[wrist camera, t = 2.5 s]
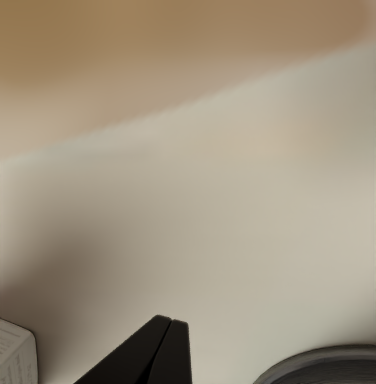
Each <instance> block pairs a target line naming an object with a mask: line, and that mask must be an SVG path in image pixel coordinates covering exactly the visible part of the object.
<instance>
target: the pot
mask: <svg viewBox="0 0 376 384" xmlns="http://www.w3.org/2000/svg"><path fill="white" fill-rule="evenodd" d="M254 384H376V346H375V345H351V346H336V347H330V348H323V349H317V350H313V351H310V352H306V353H302V354H299V355H296V356H294V357H291V358H289V359H286V360H284V361H282V362H280V363H278V364H277V365H275V366H273V367H271V368H270V369H269V370H267V371H266V372H265V373H264V374H262V375H261V376H260V377H259V378H258V379H257V380H256V381H255V382H254Z"/></svg>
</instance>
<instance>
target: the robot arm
mask: <svg viewBox="0 0 376 384" xmlns="http://www.w3.org/2000/svg"><path fill="white" fill-rule="evenodd" d="M74 384H192V371H191V356H190V342H189V327H188V323H186V322H183V321H180V320H176V319H174V320H172V319H171V318H169V317H166V316H162V315H156V316H154V317H153V318H152V319H151V320H150V321H148V322H147V323H146V324H145V325H144V326H142V327H141V328H140V329H139V330H138V331H136V332H135V333H134V334H133V335H131V336H130V337H129V338H128V339H127V340H125V341H124V342H123V343H122V344H121V345H119V346H118V347H117V348H116V349H115V350H113V351H112V352H111V353H110V354H109V355H107V356H106V357H105V358H104V359H103V360H101V361H100V362H99V363H98V364H97V365H95V366H94V367H93V368H92V369H90V370H89V371H88V372H87V373H86V374H84V375H83V376H82V377H81V378H80V379H78V380H77V381H76V382H75V383H74Z"/></svg>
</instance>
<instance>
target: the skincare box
mask: <svg viewBox="0 0 376 384" xmlns="http://www.w3.org/2000/svg"><path fill="white" fill-rule="evenodd" d="M0 384H38V370H37V355H36V344H35V338H34V335H33V334H32V333H31V332H30V331H28V330H26V329H23V328H21V327H19V326H17V325H15V324H12V323H9V322H7V321H4V320H1V319H0Z"/></svg>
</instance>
